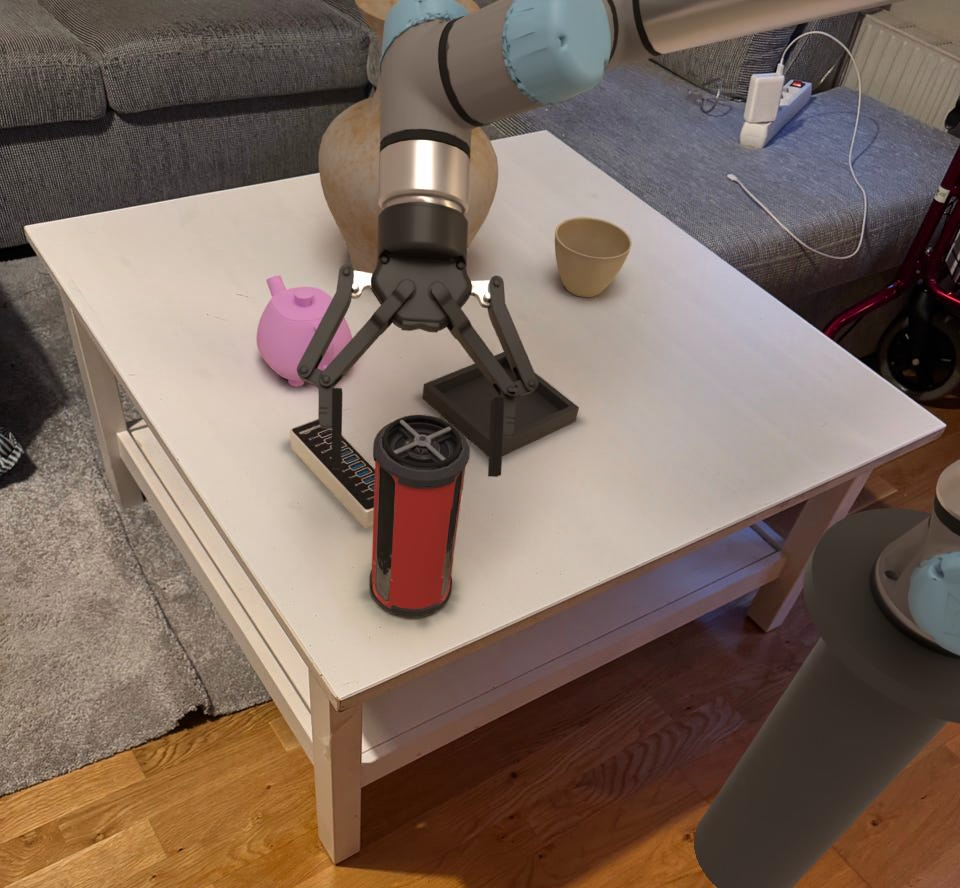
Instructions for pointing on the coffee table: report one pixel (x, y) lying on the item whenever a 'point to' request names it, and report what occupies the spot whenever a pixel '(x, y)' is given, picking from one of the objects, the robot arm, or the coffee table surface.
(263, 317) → the teapot
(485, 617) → the coffee table surface
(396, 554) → the speaker
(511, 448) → the dock pad
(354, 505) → the multiport hub
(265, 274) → the coffee table surface
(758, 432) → the coffee table surface
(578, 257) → the flower pot
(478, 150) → the vase
